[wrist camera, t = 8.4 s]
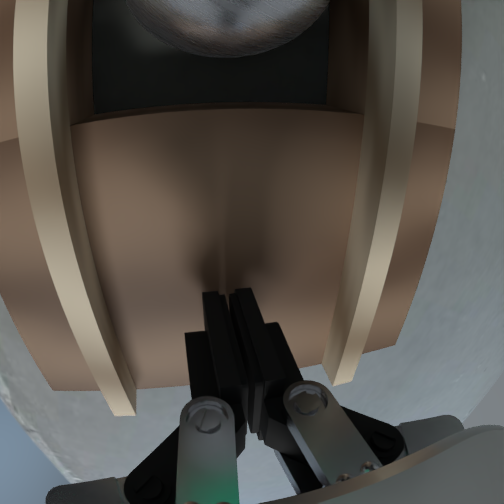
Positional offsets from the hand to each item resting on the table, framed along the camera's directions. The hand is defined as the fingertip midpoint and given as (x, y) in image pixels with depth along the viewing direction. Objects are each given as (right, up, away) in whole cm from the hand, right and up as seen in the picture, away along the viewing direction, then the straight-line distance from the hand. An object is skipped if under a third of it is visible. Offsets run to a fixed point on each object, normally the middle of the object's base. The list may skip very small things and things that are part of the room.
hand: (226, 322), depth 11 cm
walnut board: (-1, +7, 0) cm, 8 cm away
